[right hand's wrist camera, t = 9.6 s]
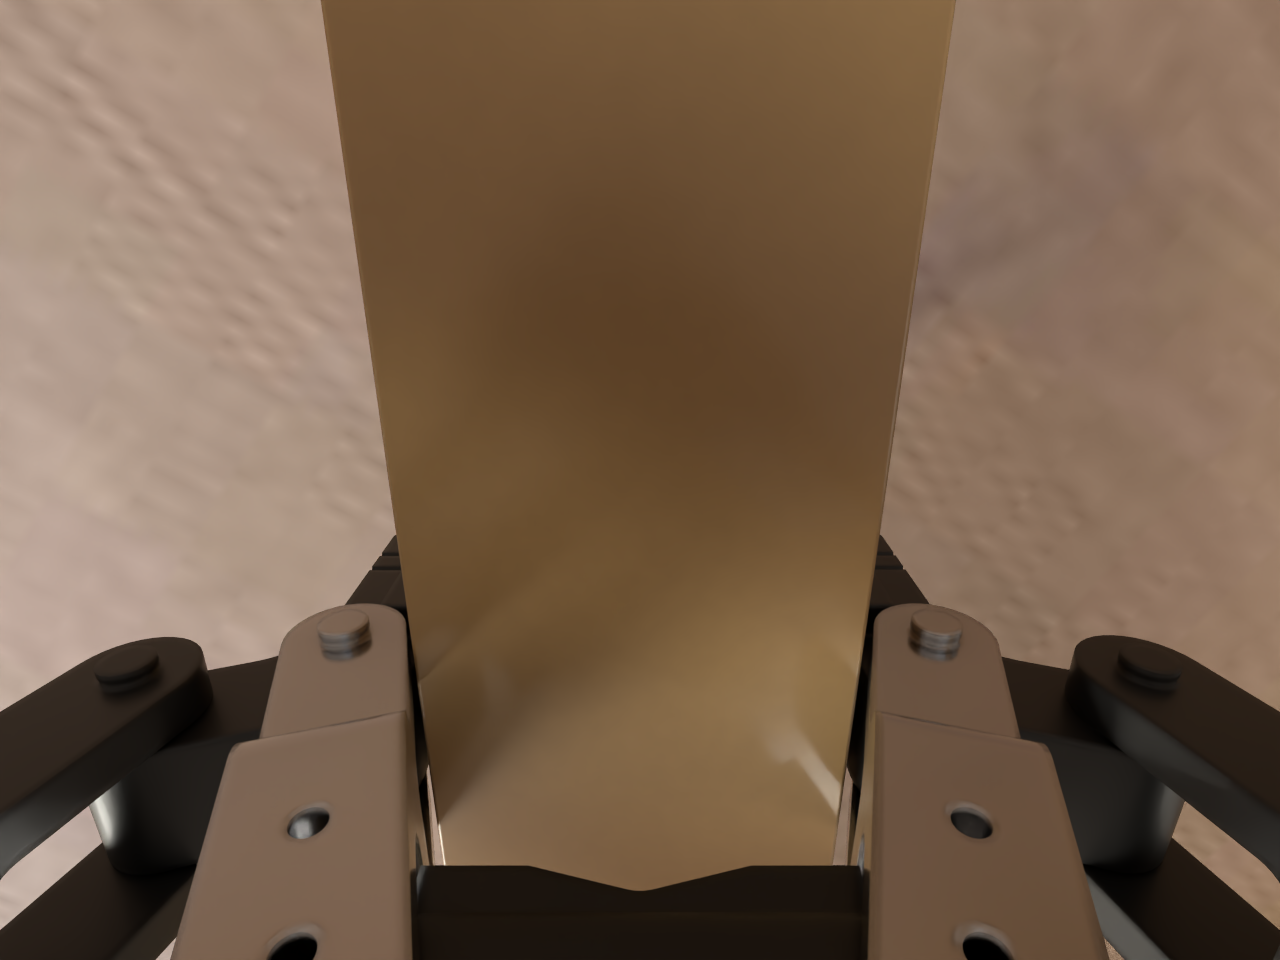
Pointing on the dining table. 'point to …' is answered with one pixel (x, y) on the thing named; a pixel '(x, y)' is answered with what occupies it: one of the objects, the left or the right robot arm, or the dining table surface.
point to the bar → (638, 401)
